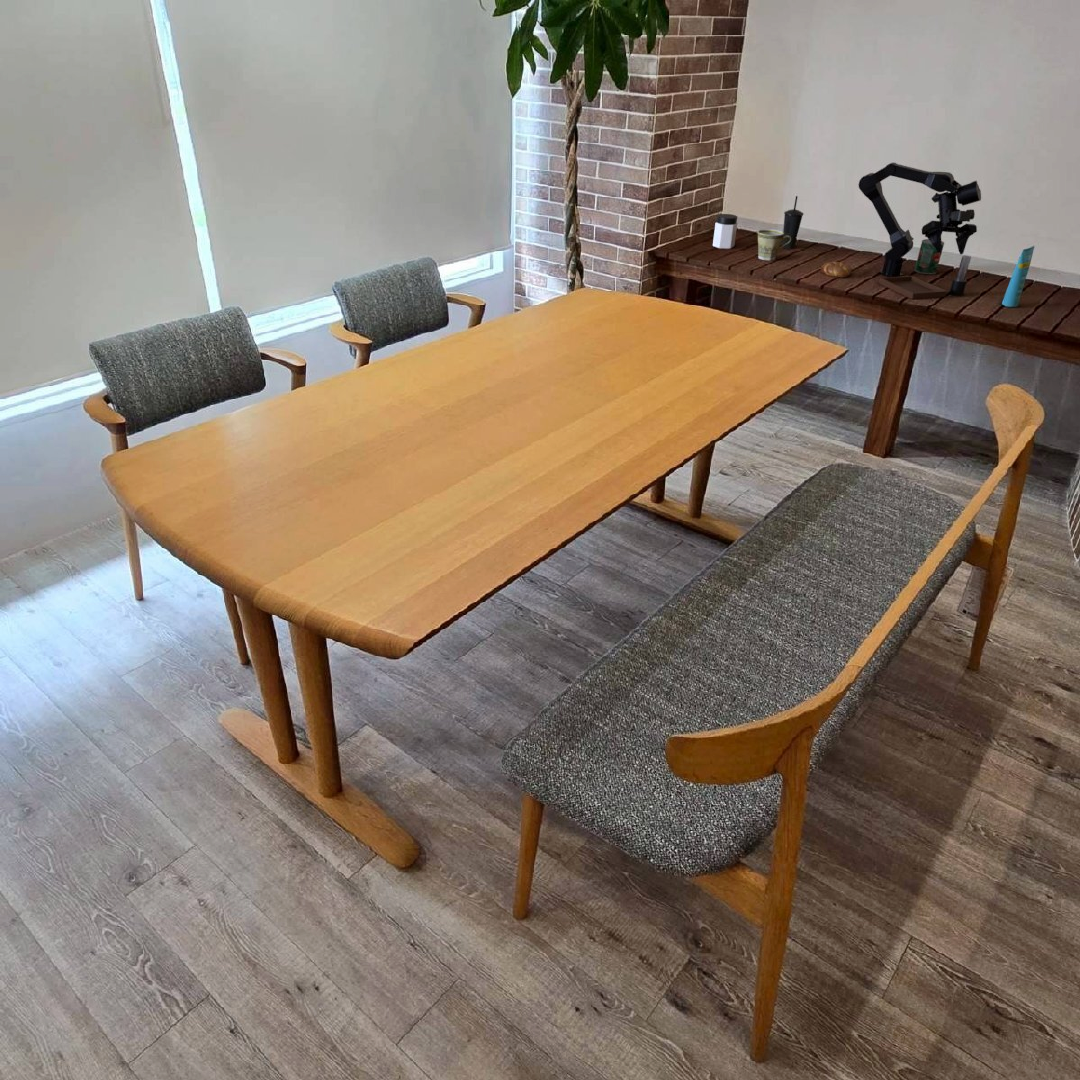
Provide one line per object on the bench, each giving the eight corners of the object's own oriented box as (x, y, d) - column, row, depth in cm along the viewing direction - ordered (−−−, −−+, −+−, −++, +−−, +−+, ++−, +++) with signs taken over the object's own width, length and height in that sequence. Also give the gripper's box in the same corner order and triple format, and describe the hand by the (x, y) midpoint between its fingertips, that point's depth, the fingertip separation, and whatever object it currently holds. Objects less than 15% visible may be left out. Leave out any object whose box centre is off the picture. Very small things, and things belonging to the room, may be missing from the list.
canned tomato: (938, 274, 314) (946, 244, 308) (916, 273, 316) (923, 243, 310) (934, 269, 321) (942, 239, 315) (912, 267, 322) (920, 238, 316)
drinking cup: (799, 249, 343) (808, 198, 332) (780, 249, 343) (789, 198, 332) (794, 245, 349) (803, 194, 338) (776, 244, 349) (785, 194, 338)
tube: (1012, 309, 280) (1032, 250, 270) (998, 305, 283) (1016, 247, 273) (1021, 304, 285) (1040, 246, 274) (1006, 301, 288) (1025, 244, 277)
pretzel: (855, 278, 308) (858, 268, 306) (826, 278, 308) (828, 268, 306) (845, 269, 318) (847, 259, 316) (817, 269, 318) (819, 259, 316)
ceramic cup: (753, 260, 328) (756, 234, 322) (755, 254, 336) (758, 228, 330) (786, 263, 325) (791, 236, 319) (788, 257, 333) (792, 231, 327)
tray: (878, 283, 304) (879, 277, 303) (910, 281, 307) (912, 275, 306) (911, 299, 288) (913, 293, 287) (945, 296, 291) (947, 291, 290)
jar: (732, 244, 349) (736, 214, 343) (735, 249, 342) (740, 218, 336) (711, 243, 349) (715, 213, 343) (713, 248, 343) (717, 217, 336)
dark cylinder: (946, 292, 295) (957, 255, 288) (957, 292, 296) (967, 254, 289) (954, 296, 292) (965, 258, 284) (965, 295, 293) (976, 257, 285)
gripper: (942, 196, 282) (945, 241, 282) (987, 201, 287) (990, 245, 286) (919, 211, 293) (922, 254, 292) (963, 215, 298) (966, 258, 297)
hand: (950, 253), depth 292 cm, fingers open, 9 cm apart
